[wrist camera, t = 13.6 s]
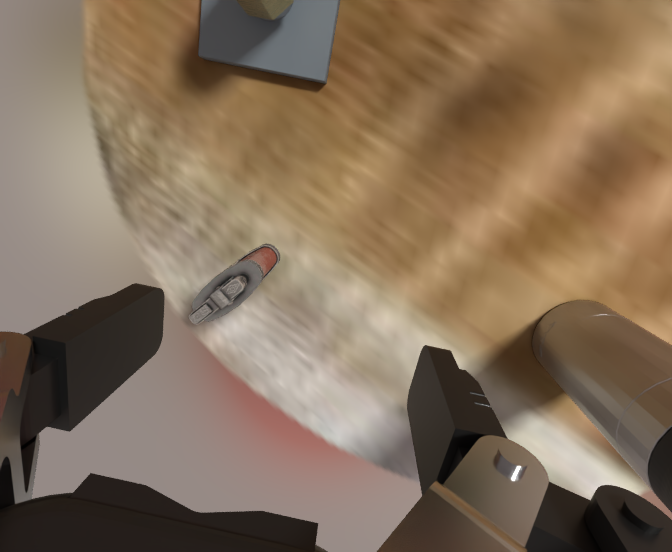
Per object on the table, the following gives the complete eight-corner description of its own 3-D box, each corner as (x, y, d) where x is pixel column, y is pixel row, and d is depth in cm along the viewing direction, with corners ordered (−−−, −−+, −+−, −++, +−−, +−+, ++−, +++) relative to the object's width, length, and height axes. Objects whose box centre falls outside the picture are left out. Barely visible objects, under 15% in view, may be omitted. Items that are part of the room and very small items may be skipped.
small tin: (267, 236, 39) (235, 260, 29) (287, 260, 40) (262, 291, 30) (215, 278, 41) (169, 313, 31) (235, 300, 41) (196, 341, 32)
